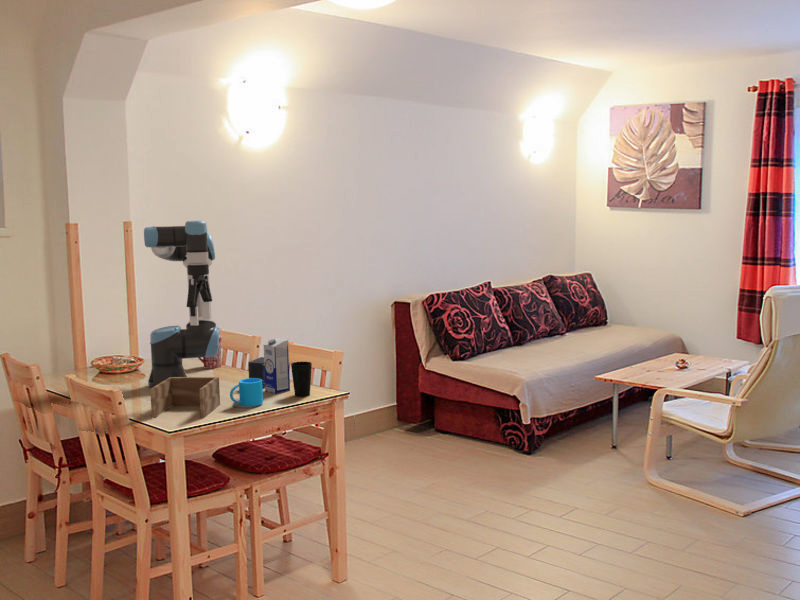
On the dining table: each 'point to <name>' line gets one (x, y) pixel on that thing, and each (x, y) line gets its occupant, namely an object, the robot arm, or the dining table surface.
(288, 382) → the milk carton
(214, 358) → the mug
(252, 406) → the coaster
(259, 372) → the small box
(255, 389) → the mug
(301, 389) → the cup
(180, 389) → the crate
